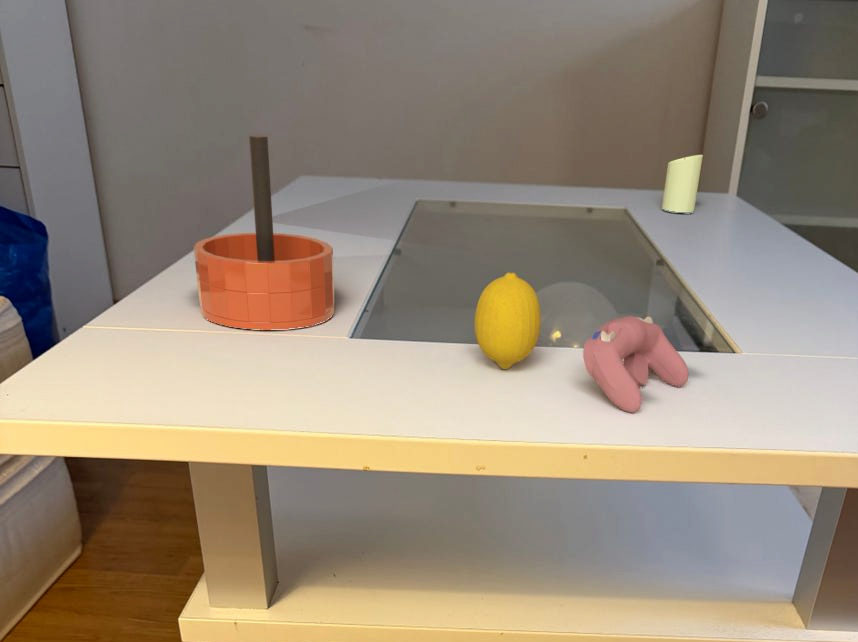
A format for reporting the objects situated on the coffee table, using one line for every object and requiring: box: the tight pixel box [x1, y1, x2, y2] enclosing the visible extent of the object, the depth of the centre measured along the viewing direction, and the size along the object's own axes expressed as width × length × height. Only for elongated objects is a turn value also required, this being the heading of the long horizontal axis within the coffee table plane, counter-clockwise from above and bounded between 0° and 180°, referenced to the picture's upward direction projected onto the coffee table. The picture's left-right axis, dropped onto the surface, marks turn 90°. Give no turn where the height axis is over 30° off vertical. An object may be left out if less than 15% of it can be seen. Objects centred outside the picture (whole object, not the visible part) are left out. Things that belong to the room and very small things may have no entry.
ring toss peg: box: [248, 134, 275, 261], centre depth 91 cm, size 5×5×14 cm
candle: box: [661, 154, 704, 213], centre depth 151 cm, size 5×5×8 cm
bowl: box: [193, 232, 335, 330], centre depth 93 cm, size 13×13×6 cm
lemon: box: [474, 272, 542, 370], centre depth 82 cm, size 6×6×8 cm
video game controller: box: [582, 315, 689, 413], centre depth 80 cm, size 10×5×7 cm, turn 144°
